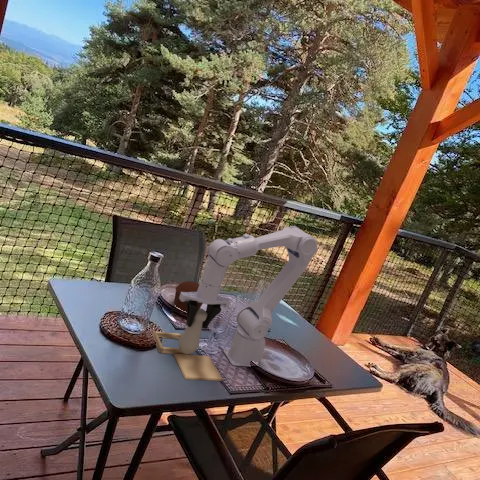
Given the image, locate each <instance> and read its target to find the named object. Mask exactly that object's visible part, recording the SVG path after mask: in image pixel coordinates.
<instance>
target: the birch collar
mask: <svg viewBox="0 0 480 480" xmlns="http://www.w3.org/2000/svg"><path fill="white" fill-rule="evenodd" d="M182 334H183V333H176V332H175V333H174V332H164V331H157V330H155V331H154V330H153V331H152V334H151V336H152V335H153V337H154V339H155V342H156V344H155V346H156V348H157V351H158V353H160V354H168V355H169V354H170V355H172V354H173V355H174V354H184V355H191V354H186V353H184V352H181V350H180V348H179V347H167V346H163V344H162V342H161V339H171V340H179V339H180V338H181V336H182ZM153 337H152V338H153ZM159 337H162V338H159ZM154 339H153V340H154ZM155 342H154V343H155Z"/></svg>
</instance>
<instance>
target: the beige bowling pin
mask: <svg viewBox="0 0 480 480" xmlns="http://www.w3.org/2000/svg"><path fill="white" fill-rule="evenodd" d="M207 315H208V314H207V312H206V309H203V308H202V307H201V308H199V310H198V311H197V313H196V315H195V317H194V320H193V323H192V325H191V327H188V325H186V328H185V329H184V331H183V333H181V334H182V336H181V338H180V339H178V348H180V350H181V352H184V353H186V354H190V355H193V354H194V353H195V352H196V351H197V350H198V348H199V346H200V340H201V335H202V329H203V326H202V324H203V321H205V320H206V318H207Z"/></svg>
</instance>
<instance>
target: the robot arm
mask: <svg viewBox="0 0 480 480" xmlns="http://www.w3.org/2000/svg"><path fill="white" fill-rule="evenodd" d="M278 247H284V248H285V249H286V252H287V256H288V261H287V262H286V264H285V265H284V266H283V267H282V268H281V270H280V271H279V273H278V274H277V275H276V276H275V278H274V279H273V280H272V281H271V282H270V284H269V285H268V287H267V288H266V289H265V290H264V291H263V293H262V294H261V295H260V296H259V298H258V300H256V301H251V302H248V304H247V305H246V306H245V307H243V308H241V309H240V310H239V311H238V312H237V314H236V316H235V317H236V323H237V325H236V327H237V328H236V332H235V334H234V337H233V339H232V342H231V345H230V348H229V349H223V351H222V352H223V353H224V355H225V356H226V358H227V359H228V361H229V362H230V364H231V365H232V366H234V367H235V366H236V367H238V366H239V367H251V365H250V361H255V362H258V363H260V361H261V358H262V356H263V353H264V351H265V347H266V339H265V336H266V335H267V333H268V331H269V329H270V326H271V325H272V323H273V317H272V316H273V315H272V312H273V311H275V309H276V308H277V306H279V304H280V303H281V302H282V300H283V298H284V297H285V296H286V295H287V293H288V292H289V291H290V290H291V288H292V287H293V286H294V284H295V283H296V282H297V281H298V280H299V278H300V277H301V276H302V275H303V273H304V272H305V270H306V269H307V268H308V266H309V264H310V262H311V260H312V258H313V257H314V256H315V254H316V253H317V251H318V241H317V239H316V237H315V236H313V235H310V234H309V233H307V232H304V231H303V230H302V229H300V228H299V226H296V225H290V226H288V227H286V226H284V227H283V229H281V230H278V231H275V232H272V233H267V234H264V235H261V236H258V237H254V235H251V234H248V233H245V234H244V233H243V235H242V236H239V237H234V238H230V237H229V238H227V239H225V240H224V239H222V238H217V239H215V240H213V241H211V243H210V244H209V245H207V247H206V253H207V255H208V257H207V260H206V263H205V266H204V269H203V272H202V276H201V277H200V281H199V282H200V283H198V284H199V287H198V290H197V292H181V293H180V297H179V299H180V300H181V301H183V302H184V301H186V305H187V315H186V326H188V327H191V325H192V323H193V320H194V317H195V315H196V313H197V311H198V310H199V308H198V306H197V305H198V304H197V302H198V303H203V304H205V305H206V309H205V311H206V312H207V314H208V315H207V318H206V320H205V321H203V324H202V328H203V329H205V330H206V329H207V328H208V327H209V325H210V324H211V322H212V321H213V320H214V319H215V317H216V316H218V315H220V313H221V312H222V310H223V309H222V308H221V306H222V307H224V308H230V304H231V300H230V299H229V298H227V297H223V296H220V295H219V292H220V290H221V286H222V284H223V281H224V279H225V275H226V273H227V270H228V267H229V266H231V265H232V264H233V263H234V262H235V261H237V260H241V259H244V258H249V257H252V256H255V255H256V254H257V253H258V251H260V250H266V249H267V250H268V249H273V248H278Z"/></svg>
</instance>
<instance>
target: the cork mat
mask: <svg viewBox="0 0 480 480" xmlns="http://www.w3.org/2000/svg"><path fill="white" fill-rule="evenodd" d="M173 357H174V359H175V361H176V363H177V365H178V367H179V369H180V372H181V373H182V375H183V377H184V380H191V381H192V380H193V381H195V380H196V381H218V382H219V381H220V382H223V380H224V378H223V377H222V375H221V373H220V371H219V370H218V369H217V367H216V365H215V364H214V362H213V359H211V357H210V356H209V355H197V354H194V355H193V354H190V355H184V354H173Z"/></svg>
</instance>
